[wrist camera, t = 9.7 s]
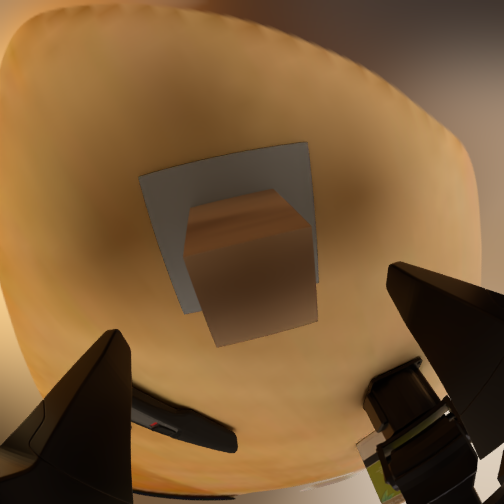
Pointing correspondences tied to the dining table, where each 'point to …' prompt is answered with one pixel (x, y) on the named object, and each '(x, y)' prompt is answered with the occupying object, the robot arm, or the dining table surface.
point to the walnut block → (251, 266)
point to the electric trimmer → (180, 424)
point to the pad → (222, 198)
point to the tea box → (377, 469)
